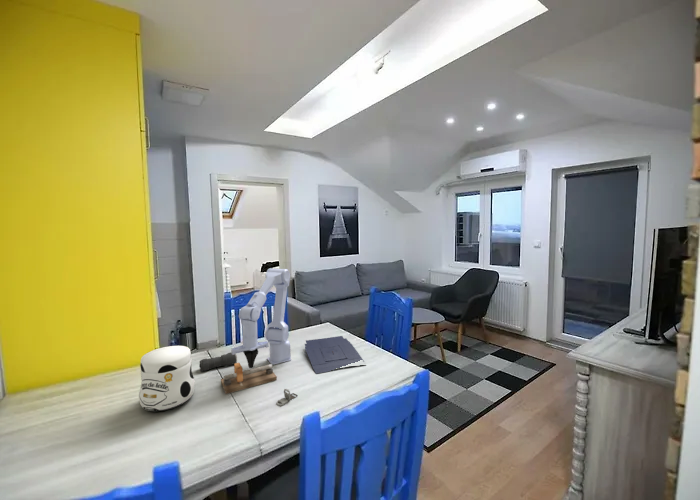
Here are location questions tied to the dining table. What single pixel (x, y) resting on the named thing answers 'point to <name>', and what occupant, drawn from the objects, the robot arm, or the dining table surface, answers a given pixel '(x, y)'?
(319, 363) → the grey flat slab
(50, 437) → the dining table surface
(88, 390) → the dining table surface
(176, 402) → the milk container
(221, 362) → the flashlight
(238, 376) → the collar
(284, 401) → the strap clip
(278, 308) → the robot arm
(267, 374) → the pipe stand
